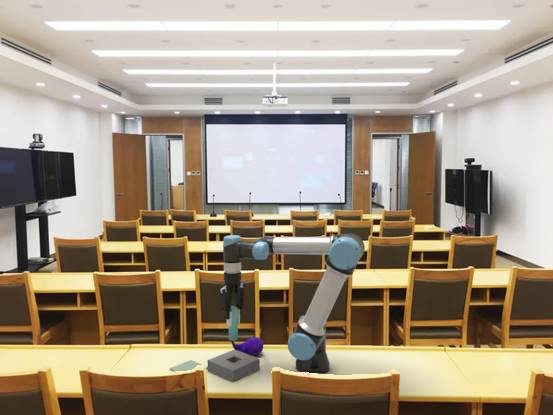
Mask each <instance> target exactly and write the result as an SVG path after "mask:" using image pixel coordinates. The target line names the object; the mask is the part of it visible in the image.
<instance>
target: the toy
mask: <svg viewBox="0 0 553 415" xmlns="http://www.w3.org/2000/svg"><path fill="white" fill-rule="evenodd" d="M230 342H231V346H232V348H233V350H237V351H240V352H243V353H245V354H248V355H251V356H254V357H256V356H257V355H260V354H261V353H262V352H263V350H264V341H263V340H262V338H260V337H258V336H254V337H251V338H248V339H247V340H245V341H244V342H241V343H235V341H232V340H230Z"/></svg>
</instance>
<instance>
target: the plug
mask: <svg viewBox="0 0 553 415" xmlns="http://www.w3.org/2000/svg"><path fill="white" fill-rule="evenodd" d="M230 311H231V312H232V327H229V326H228V340H229V341H231V340H232V341H233V342H235V341H238V340H239V324H238V307H237V306H235V305H231V310H230Z"/></svg>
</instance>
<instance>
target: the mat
mask: <svg viewBox="0 0 553 415" xmlns="http://www.w3.org/2000/svg"><path fill="white" fill-rule="evenodd" d="M197 365H203V364H202V363H199V362H197V361H196V360H192V359H191V360H187V361H185V362H183V363H180V364H177V365H174V366H172V367H169V370H170V371H171V372H173V371H187V370H192V369H194V368H195V367H196V366H197ZM205 366H206V365H205ZM206 370H208V365H207V366H206Z"/></svg>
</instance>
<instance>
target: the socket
mask: <svg viewBox="0 0 553 415" xmlns="http://www.w3.org/2000/svg"><path fill="white" fill-rule="evenodd" d="M260 363H261V359H260V358H259V357H256V356H251V355H248V354H245V353H243V352H240V351H237V350H235V349H232V350H230V351H228V352H225V353H222V354H220V355H217V356H215V357H212V358H210V359H207V367H208V369H207V372H208V373H211V374H213V375H214V376H218V377H219V378H221V379H224V380H227V381H229V382H231V383H234V382H237V381H238V380H241V379H243V378H246V377H247V375H248V376H250V375H252V374H254V373H256V372H258V371H260V368H261V367H260V366H261V364H260Z"/></svg>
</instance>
